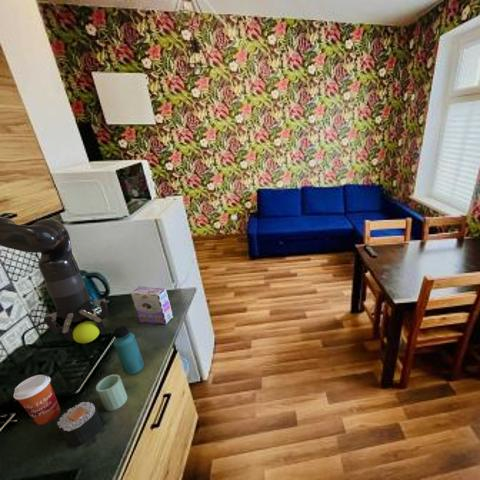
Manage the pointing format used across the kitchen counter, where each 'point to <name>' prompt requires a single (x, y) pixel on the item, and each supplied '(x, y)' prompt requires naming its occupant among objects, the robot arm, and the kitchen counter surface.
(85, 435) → the sushi
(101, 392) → the ceramic cup
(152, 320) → the candy box
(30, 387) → the paper cup
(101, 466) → the kitchen counter surface
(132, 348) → the beverage bottle
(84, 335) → the ball
